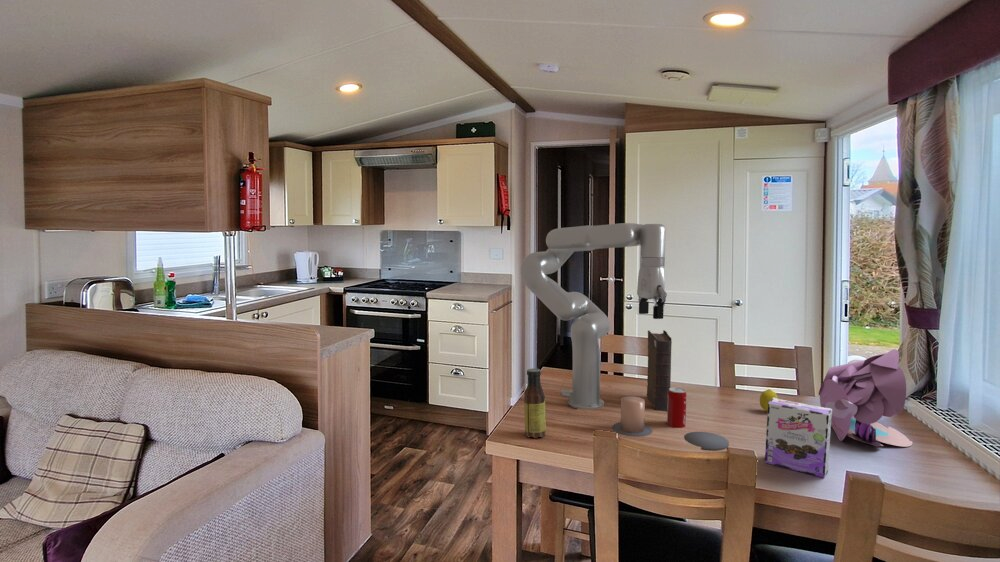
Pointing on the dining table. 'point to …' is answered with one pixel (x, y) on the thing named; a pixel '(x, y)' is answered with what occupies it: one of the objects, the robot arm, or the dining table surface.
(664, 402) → the book
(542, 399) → the sauce bottle
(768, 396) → the lemon
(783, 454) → the candy box
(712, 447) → the right coaster
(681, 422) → the soda can
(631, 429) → the beige rounded cylinder
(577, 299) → the robot arm
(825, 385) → the flower arrangement
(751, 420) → the dining table surface
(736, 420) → the dining table surface
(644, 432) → the left coaster
